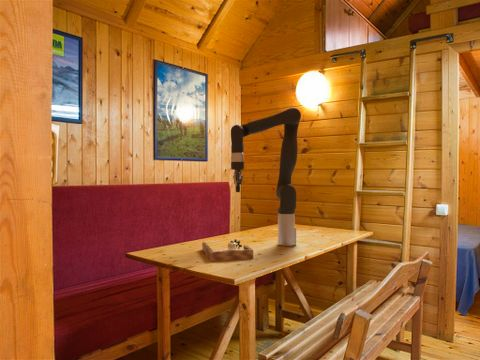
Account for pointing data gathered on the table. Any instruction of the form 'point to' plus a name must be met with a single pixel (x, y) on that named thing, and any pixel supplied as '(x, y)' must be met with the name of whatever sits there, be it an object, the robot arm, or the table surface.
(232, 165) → the robot arm
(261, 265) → the table surface
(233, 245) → the valve
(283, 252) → the table surface
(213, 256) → the rack
